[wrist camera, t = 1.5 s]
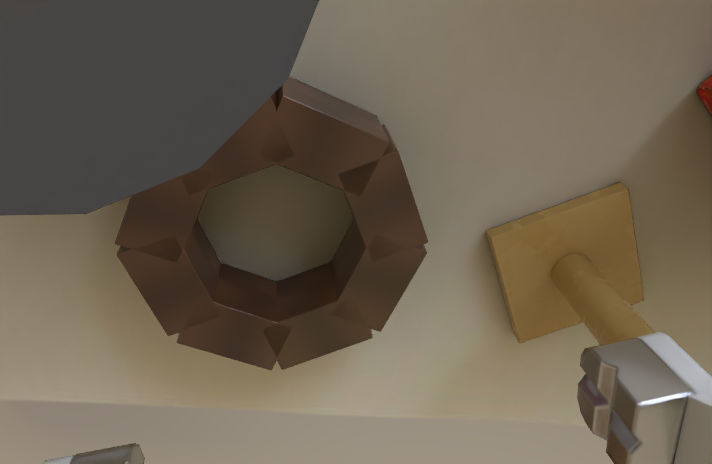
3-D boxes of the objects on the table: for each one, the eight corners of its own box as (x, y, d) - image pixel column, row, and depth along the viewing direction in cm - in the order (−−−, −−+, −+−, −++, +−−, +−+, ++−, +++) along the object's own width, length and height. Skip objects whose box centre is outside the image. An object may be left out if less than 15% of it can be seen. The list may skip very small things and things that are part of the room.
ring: (356, 40, 30) (367, 57, 26) (434, 271, 36) (451, 310, 33) (88, 142, 30) (63, 173, 27) (212, 350, 37) (206, 397, 33)
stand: (620, 181, 35) (789, 315, 23) (636, 291, 39) (788, 452, 27) (485, 230, 35) (586, 384, 24) (514, 334, 39) (613, 510, 28)
